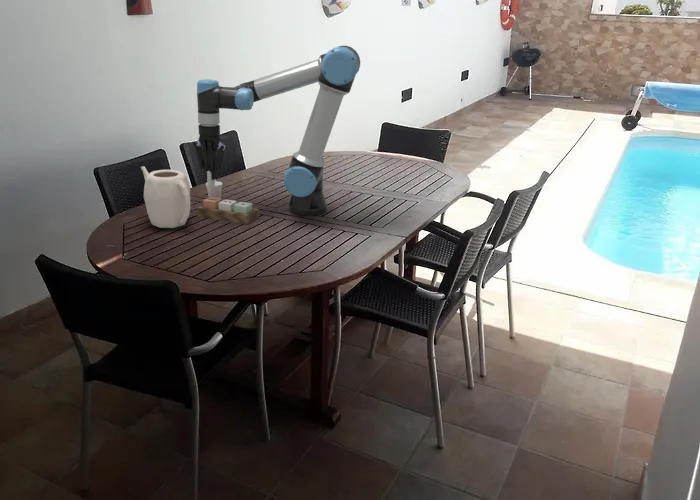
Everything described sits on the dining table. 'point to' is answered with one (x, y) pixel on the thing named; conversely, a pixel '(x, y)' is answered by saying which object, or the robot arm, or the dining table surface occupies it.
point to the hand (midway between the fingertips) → (211, 187)
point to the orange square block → (211, 202)
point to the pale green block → (243, 207)
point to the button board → (228, 215)
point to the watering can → (166, 197)
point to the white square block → (227, 205)
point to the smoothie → (215, 190)
